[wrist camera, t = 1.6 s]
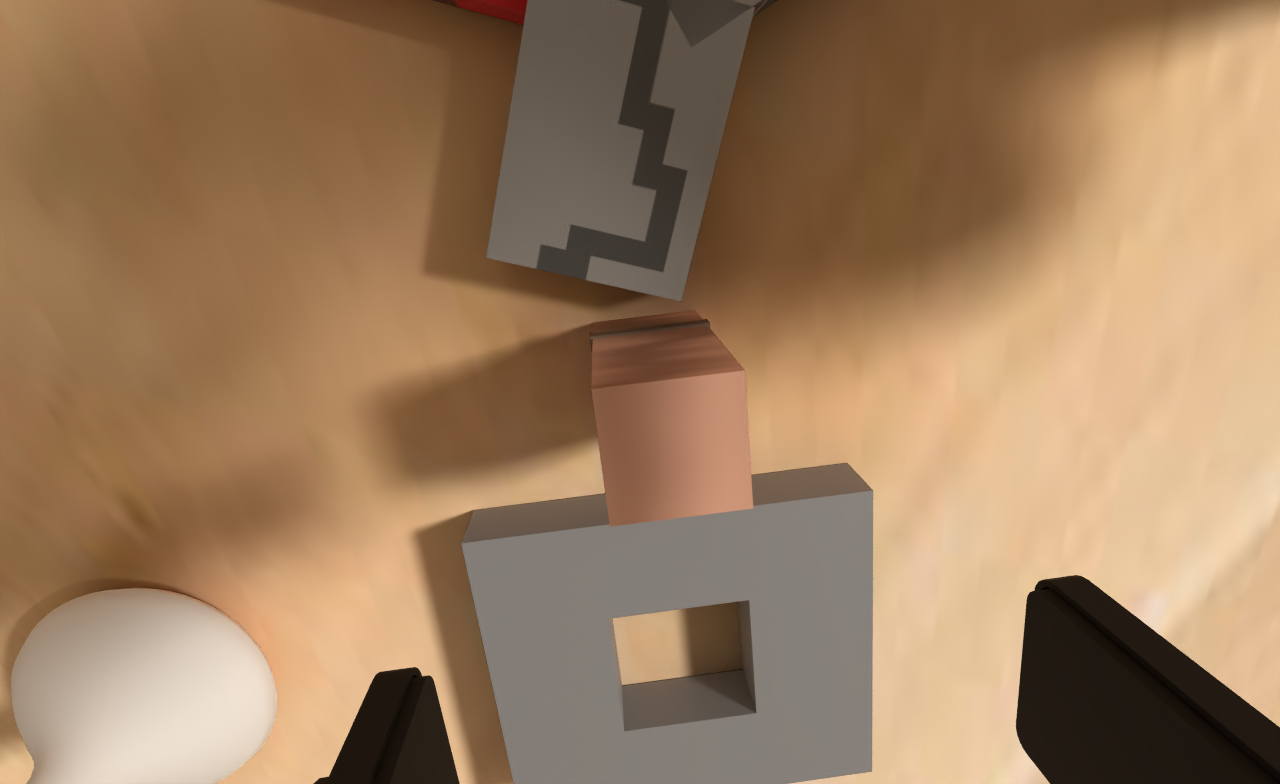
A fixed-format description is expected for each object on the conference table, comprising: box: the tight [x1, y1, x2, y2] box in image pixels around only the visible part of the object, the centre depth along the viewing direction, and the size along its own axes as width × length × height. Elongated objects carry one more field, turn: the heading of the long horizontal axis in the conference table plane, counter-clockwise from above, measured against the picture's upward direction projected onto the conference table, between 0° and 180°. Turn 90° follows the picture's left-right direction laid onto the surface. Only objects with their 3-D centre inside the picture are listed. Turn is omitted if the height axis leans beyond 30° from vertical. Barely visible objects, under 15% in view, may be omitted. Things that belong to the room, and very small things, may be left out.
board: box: [461, 463, 873, 784], centre depth 31 cm, size 18×16×3 cm
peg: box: [590, 311, 753, 527], centre depth 24 cm, size 5×5×10 cm
